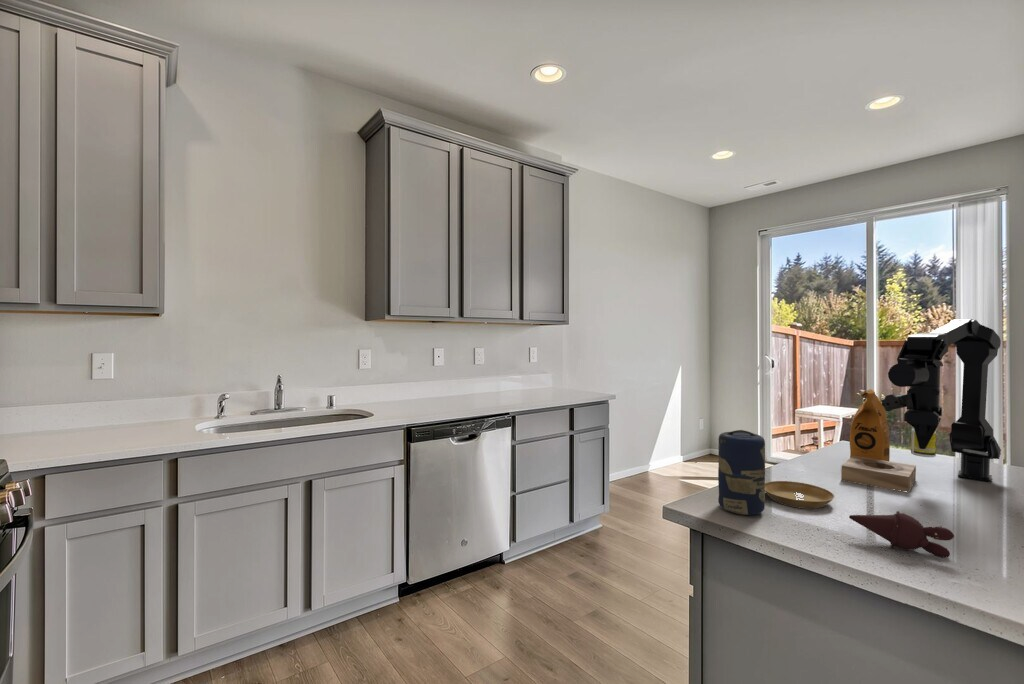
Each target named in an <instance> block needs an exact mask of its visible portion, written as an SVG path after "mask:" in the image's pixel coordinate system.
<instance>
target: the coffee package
mask: <svg viewBox="0 0 1024 684" xmlns="http://www.w3.org/2000/svg"><path fill="white" fill-rule="evenodd" d="M860 396H861V398H864V399H865V400H864V402H863V403H862V404H861V405H860V406H859V407H858V409H857V410H856V412H855V414H854V416H853V418H852V421H851V423H850V424H851V425H850V429H849V450H850V456H849V459H850V458H851V457H852V456H858V457H864V458H871V459H877V460H884V461H890V456H891V455H890V454H891V453H890V452H891V451H890V449H891V447H890V446H891V445H890V431H889V430H890V429H889V423H888V419H887V411H885V409H884V407H883V406H882V402H881V399H880V398H879V397H878V395H877V394H876V391H875V390H873V389H872V388H869V389H867V390H866V391H864V392H863V393H862V394H861V395H860Z"/></svg>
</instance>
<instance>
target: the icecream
mask: <svg viewBox="0 0 1024 684" xmlns="http://www.w3.org/2000/svg"><path fill="white" fill-rule="evenodd" d="M848 517H849V519H850V520H851V521H853V522H855V523H857V524H859V525H860V526H862V527H864V528H866V529H867V530H869V531H871V532H873V533H874V534H875V535H877V536H879V537H880V538H883V539H884V540H886V541H888V542H890V549H895V548H897V549H900V550H903V551H914V550H918V549H921V548H922V550H924V551H925V552H928V553H930V554H931V555H934V556H936V557H940V558H949V557H950V556H951V552H950V550H949V549H948V548H947V547H945V546H943V545H941V544H940V543H936V542H934V541H933V542H932V541H930V540H929V538H932V539H934V540H936V541H937V540H938V541H951V540H953V539H954V537H955V535H954V533H953V532H952V530H950V529H949V528H946V527H943V526H924V525H923V524H922V523H921V522H920V521H919V520H917V519H915V518H914V517H912V516H911V515H908V514H906V513H903V512H902V513H901V512H900V511H899V510H897V511H896V513H894V514H865V515H864V514H852V515H851V514H849V516H848Z"/></svg>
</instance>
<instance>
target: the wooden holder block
mask: <svg viewBox="0 0 1024 684" xmlns="http://www.w3.org/2000/svg"><path fill="white" fill-rule="evenodd" d="M840 471H841V477H840V478H841V480H840V481H843V480H845V481H844V482H848V481H850V482H849V483H853V482H856V483H855V484H859V483H861V484H860V485H864V484H867V485H866V486H869V485H872V486H871V487H874V486H877V487H876V488H880V487H881V489H885V488H887V490H890V489H895V490H894V491H896V490H901V491H907V492H909V493H910V491H911V490H910V489H912V488H913V486H912V485H914V484H915V482H916V481H915V480H917V478H916V475H917V465H914V464H909V463H902V462H895V461H890V460H889V461H884V460H877V459H871V458H864V457H858V456H852V457H851V458H850V457H849V459H847V460H846V461H845V462H843V464H842V465H841V470H840ZM913 483H914V484H913ZM911 487H912V488H911ZM909 490H910V491H909ZM901 491H900V492H901Z"/></svg>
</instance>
